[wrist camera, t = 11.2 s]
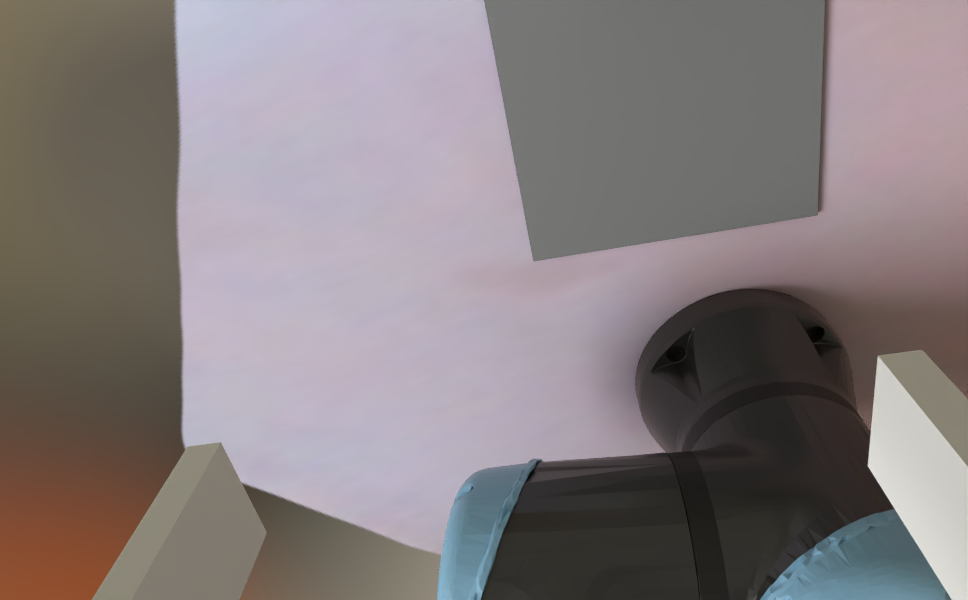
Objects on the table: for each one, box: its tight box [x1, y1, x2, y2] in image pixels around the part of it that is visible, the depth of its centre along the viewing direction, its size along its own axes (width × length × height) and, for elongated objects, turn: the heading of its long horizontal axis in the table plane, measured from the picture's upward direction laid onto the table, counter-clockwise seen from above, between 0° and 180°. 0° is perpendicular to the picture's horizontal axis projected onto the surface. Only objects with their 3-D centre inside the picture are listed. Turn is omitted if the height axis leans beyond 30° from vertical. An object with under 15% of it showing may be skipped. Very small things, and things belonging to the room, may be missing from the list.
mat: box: [484, 0, 825, 261], centre depth 42 cm, size 19×19×1 cm
